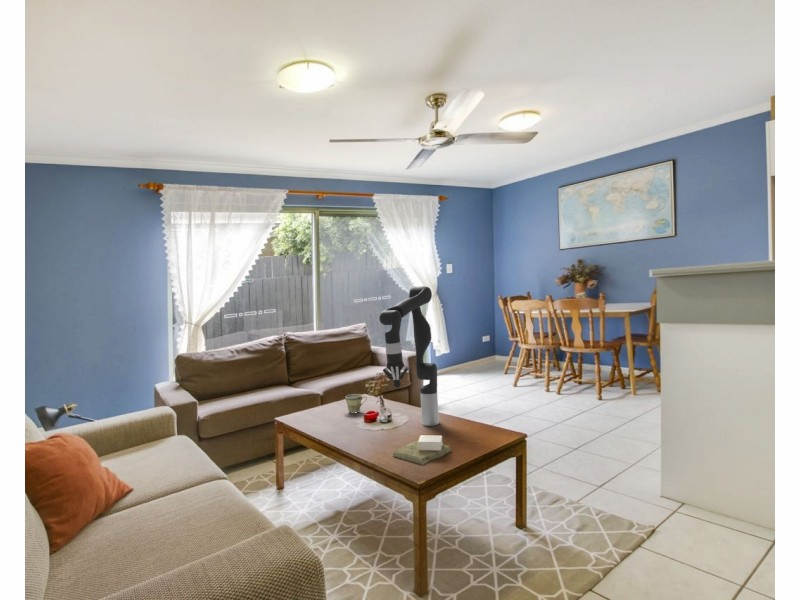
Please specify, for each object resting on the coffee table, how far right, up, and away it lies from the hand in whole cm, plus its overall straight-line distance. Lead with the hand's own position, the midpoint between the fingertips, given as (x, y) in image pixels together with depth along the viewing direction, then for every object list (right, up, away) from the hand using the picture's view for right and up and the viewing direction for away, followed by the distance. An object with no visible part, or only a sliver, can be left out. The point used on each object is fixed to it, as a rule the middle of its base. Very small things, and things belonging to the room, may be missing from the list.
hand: (397, 387), depth 212 cm
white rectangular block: (+10, -23, -13) cm, 28 cm away
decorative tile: (+12, -28, -13) cm, 33 cm away
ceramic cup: (-25, -27, +59) cm, 69 cm away
